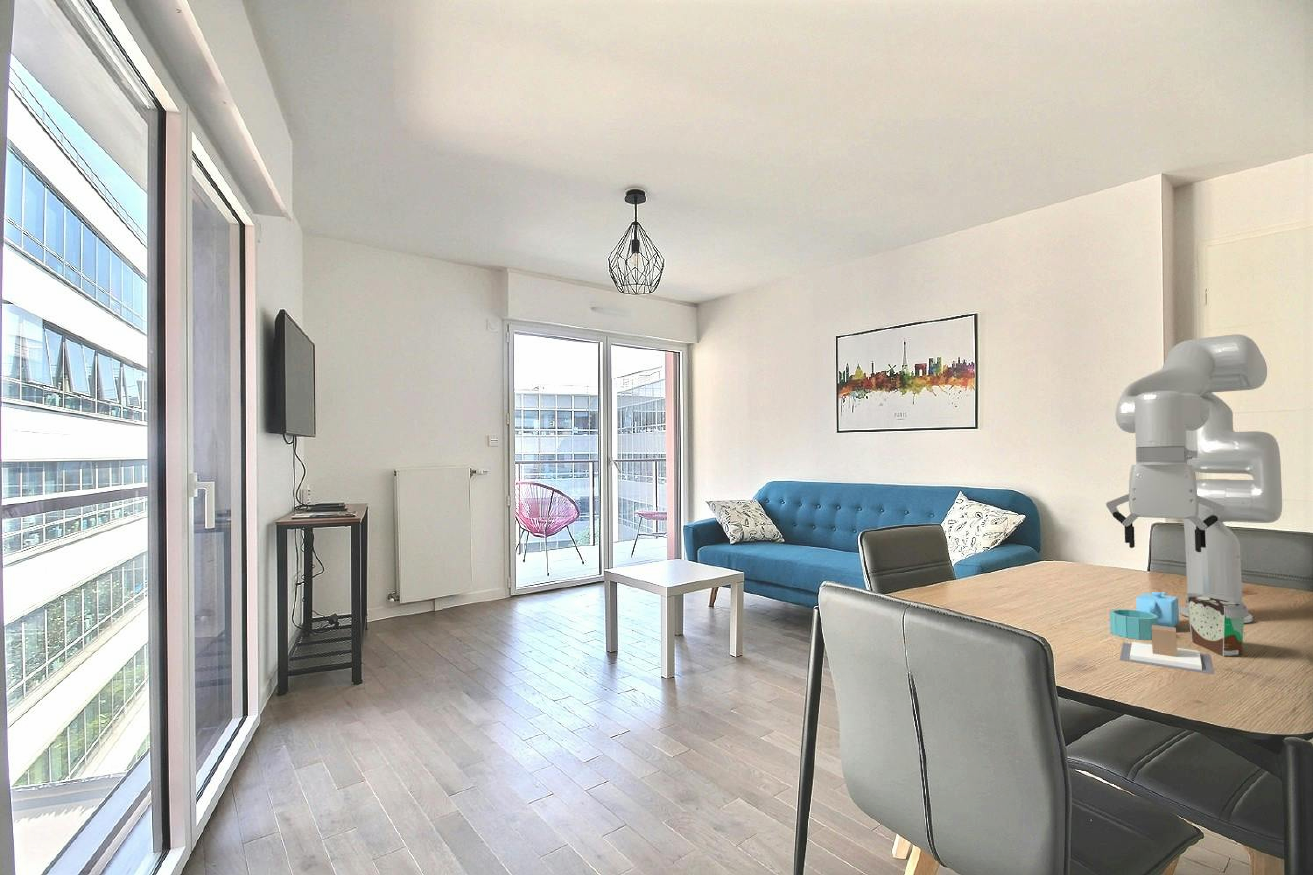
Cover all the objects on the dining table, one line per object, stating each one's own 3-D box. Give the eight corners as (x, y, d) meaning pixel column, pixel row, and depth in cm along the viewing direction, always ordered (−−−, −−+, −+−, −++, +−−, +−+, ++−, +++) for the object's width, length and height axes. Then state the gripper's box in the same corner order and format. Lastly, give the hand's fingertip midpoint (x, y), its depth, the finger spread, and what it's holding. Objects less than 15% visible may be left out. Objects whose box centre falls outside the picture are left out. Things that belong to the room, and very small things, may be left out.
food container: (1268, 663, 114) (1266, 607, 114) (1229, 661, 115) (1226, 606, 116) (1222, 643, 126) (1220, 593, 127) (1187, 642, 127) (1184, 592, 128)
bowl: (1112, 629, 137) (1111, 607, 138) (1158, 635, 132) (1157, 612, 133) (1109, 637, 131) (1108, 615, 131) (1158, 644, 126) (1157, 620, 126)
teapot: (1148, 618, 146) (1147, 585, 146) (1182, 623, 141) (1180, 589, 141) (1135, 628, 138) (1134, 593, 138) (1170, 634, 133) (1169, 598, 134)
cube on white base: (1132, 645, 124) (1131, 618, 124) (1199, 655, 118) (1198, 626, 118) (1130, 659, 116) (1128, 630, 116) (1201, 669, 110) (1200, 639, 110)
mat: (1123, 645, 126) (1123, 642, 126) (1209, 657, 118) (1209, 654, 118) (1119, 662, 116) (1119, 659, 116) (1213, 677, 108) (1213, 674, 108)
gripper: (1221, 457, 116) (1224, 551, 116) (1106, 458, 127) (1108, 543, 126) (1224, 456, 110) (1228, 555, 110) (1103, 457, 121) (1106, 547, 120)
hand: (1164, 549), depth 118 cm, fingers open, 9 cm apart
